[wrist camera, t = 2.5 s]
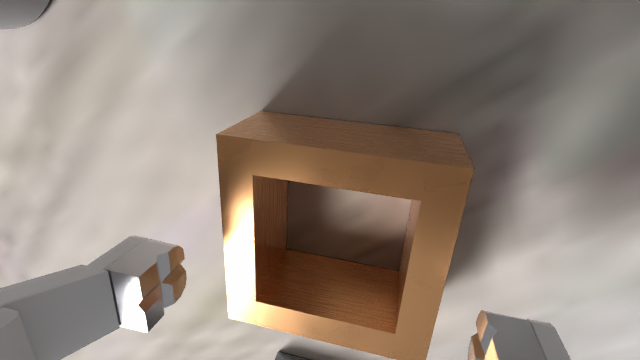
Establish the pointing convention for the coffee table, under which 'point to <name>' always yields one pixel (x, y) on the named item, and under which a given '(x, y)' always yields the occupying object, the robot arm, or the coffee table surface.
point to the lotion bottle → (20, 12)
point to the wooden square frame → (328, 273)
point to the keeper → (287, 357)
